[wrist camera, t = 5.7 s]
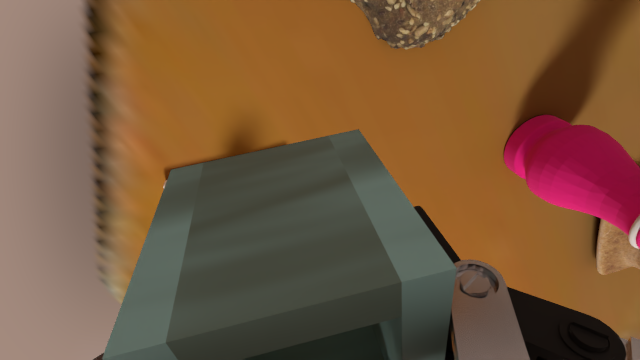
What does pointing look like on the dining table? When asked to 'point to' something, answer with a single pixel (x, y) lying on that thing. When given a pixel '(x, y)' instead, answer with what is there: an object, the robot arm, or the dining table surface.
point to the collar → (287, 263)
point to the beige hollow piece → (614, 250)
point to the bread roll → (413, 19)
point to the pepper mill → (578, 170)
